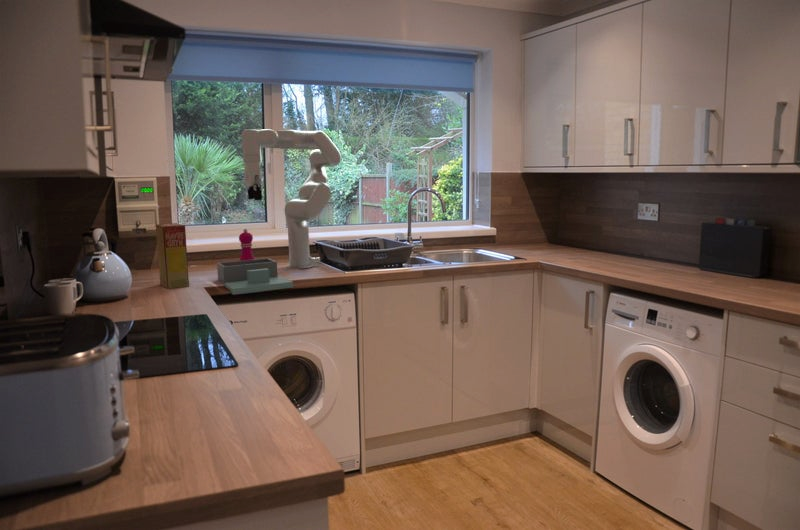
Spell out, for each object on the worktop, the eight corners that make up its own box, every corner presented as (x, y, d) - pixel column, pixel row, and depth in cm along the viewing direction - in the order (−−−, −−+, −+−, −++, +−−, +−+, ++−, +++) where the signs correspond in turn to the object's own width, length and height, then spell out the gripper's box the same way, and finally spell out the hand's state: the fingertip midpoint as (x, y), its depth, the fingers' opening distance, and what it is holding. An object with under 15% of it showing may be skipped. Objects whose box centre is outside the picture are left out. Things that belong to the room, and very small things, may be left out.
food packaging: (190, 286, 260) (185, 225, 256) (166, 289, 255) (161, 226, 251) (182, 281, 271) (177, 222, 267) (159, 284, 266) (153, 224, 262)
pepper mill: (250, 271, 292) (248, 227, 289) (259, 273, 287) (256, 228, 284) (236, 273, 287) (233, 229, 284) (245, 275, 282) (242, 230, 279)
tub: (269, 276, 278) (268, 258, 277) (277, 280, 268) (276, 261, 267) (218, 281, 268) (216, 263, 267) (224, 286, 258) (223, 267, 257)
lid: (282, 281, 265) (281, 264, 264) (293, 287, 253) (292, 269, 252) (225, 288, 254) (223, 270, 253) (233, 294, 242) (231, 275, 241)
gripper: (238, 159, 279) (241, 199, 282) (249, 159, 264) (251, 201, 267) (255, 159, 282) (258, 198, 285) (266, 158, 267) (269, 200, 270)
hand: (255, 199), depth 276 cm, fingers open, 9 cm apart
